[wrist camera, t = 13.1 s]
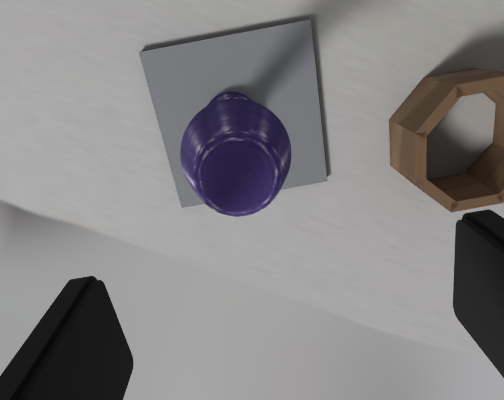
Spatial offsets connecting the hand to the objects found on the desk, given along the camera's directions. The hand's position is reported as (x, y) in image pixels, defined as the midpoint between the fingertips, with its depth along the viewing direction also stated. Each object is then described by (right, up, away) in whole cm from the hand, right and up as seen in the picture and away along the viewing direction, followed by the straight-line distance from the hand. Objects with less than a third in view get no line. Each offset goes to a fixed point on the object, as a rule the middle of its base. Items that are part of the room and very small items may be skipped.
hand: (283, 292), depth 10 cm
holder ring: (+15, +8, +20) cm, 26 cm away
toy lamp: (-2, +9, +18) cm, 20 cm away
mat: (-2, +9, +19) cm, 21 cm away
